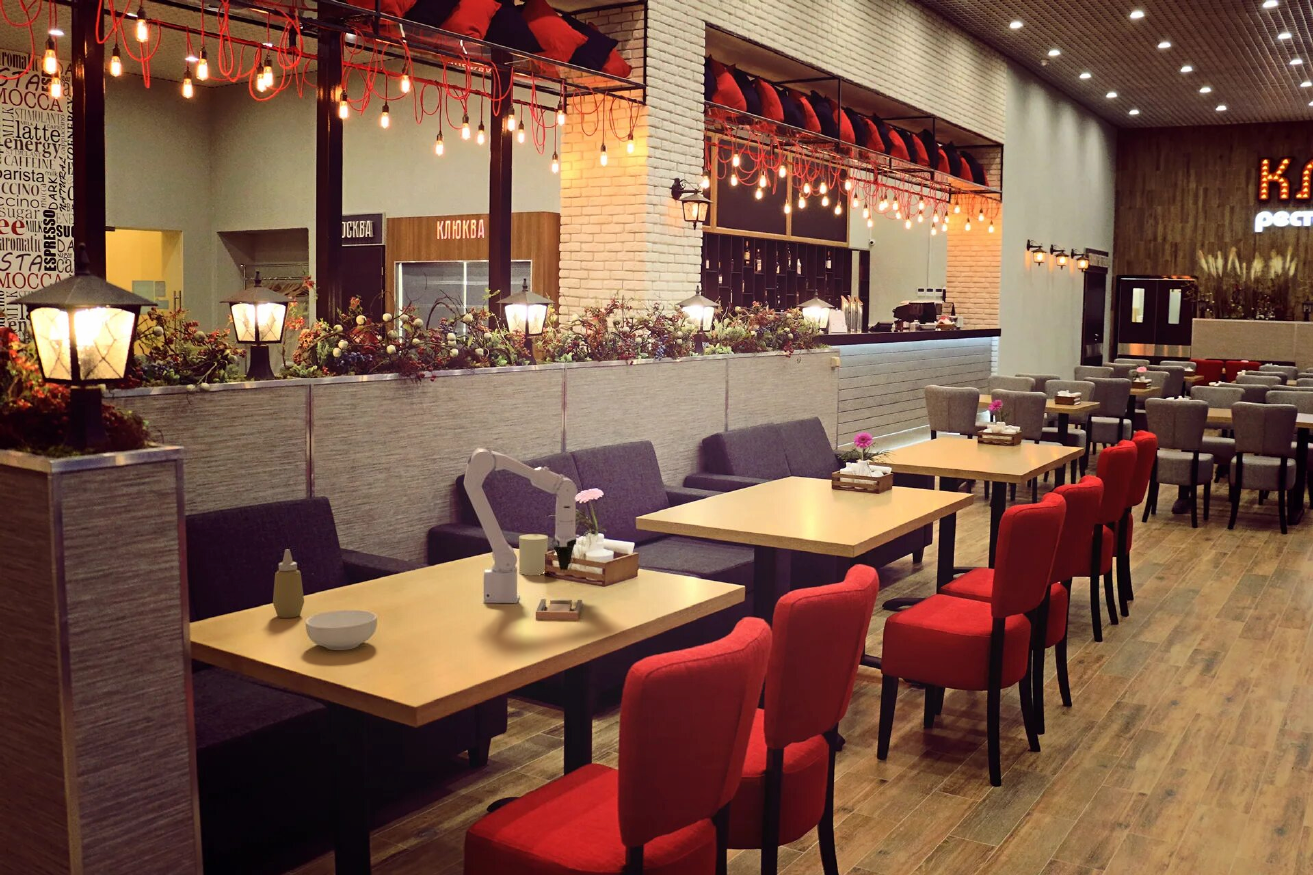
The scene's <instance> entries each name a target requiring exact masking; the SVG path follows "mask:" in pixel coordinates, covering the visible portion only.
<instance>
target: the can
mask: <svg viewBox="0 0 1313 875" xmlns="http://www.w3.org/2000/svg"><path fill="white" fill-rule="evenodd" d="M548 540H549V536H548V535H546V534H542V533H541V534H539V533H529V534H521V535H519V537H518V542H519V544H518V546H519V547H518V549H519V551H518V552H519V553H518V554H519V556H518V558H519V559H518V561H519V562H518V566H519V567H518V568H519V569H518V573H520V574H519V575H522V574H524V575H523V576H527V575H538V576H540V575H539V574H543V572H544V569H545V554H546V552H548V548H549V546H548V545H549V544H548V543H549V541H548Z"/></svg>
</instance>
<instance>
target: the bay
mask: <svg viewBox="0 0 1313 875" xmlns="http://www.w3.org/2000/svg"><path fill="white" fill-rule="evenodd" d="M575 604H576V605H575V608H574V611H571V610H570V611H547V610H545V608H546V607H547V599H546V598H542V599H540V601H539V604H538V606H537V608H536V611H535V620H566V621H568V620H569V621H571V620H572V621H575V620H576V621H578V620H579V617H580V615H581V612H582V608H583V600H582V599H577V602H576V603H575Z"/></svg>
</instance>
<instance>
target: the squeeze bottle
mask: <svg viewBox="0 0 1313 875" xmlns="http://www.w3.org/2000/svg"><path fill="white" fill-rule="evenodd" d="M273 585H274V586H273V598H272V604H273V607H274V610H275V612H276V615H277V617H279V618H283V619H286V618H287V619H289V618H291V619H292V618H297V617H299V616H300V615H301V613H302V610H303V607H304V604H305V597H304V590H303V589H304V588H303V581H302V574H301V571H300V570H298V563H297V562H296V561H293V557H292V553H291V551H290V549H288V548H287V549H285V550H284V554H283V560H282V562H279V563H278V570H277V571H276V572H275V573H274V584H273Z"/></svg>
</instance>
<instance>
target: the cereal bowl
mask: <svg viewBox="0 0 1313 875" xmlns="http://www.w3.org/2000/svg"><path fill="white" fill-rule="evenodd" d="M377 627H378V615H377V614H376V613H374V612H373V611H372V612H371V611H368V610H362V609H359V610H358V609H340V610H339V609H338V610H331V611H326V612H320V613H318V614H314V615H312V616H310V617H307V619H306V620H305V630H306V634H307V637H308V638H309V640H310V641H311V642H313V644H316V645H318V646H321V647H324V648H326V649H328V650H331V651H347V650H348V651H349V650H351V649H355V648H357V647H358V646H360V644H362V643H365V642H366V641H368V640H370V638H372V636H373V635H374V634H375V633H376V630H377Z"/></svg>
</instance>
